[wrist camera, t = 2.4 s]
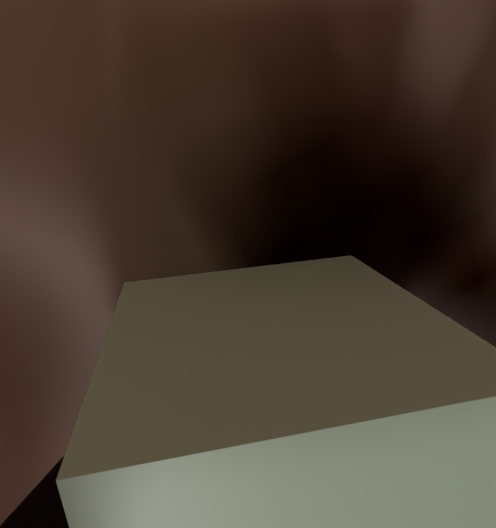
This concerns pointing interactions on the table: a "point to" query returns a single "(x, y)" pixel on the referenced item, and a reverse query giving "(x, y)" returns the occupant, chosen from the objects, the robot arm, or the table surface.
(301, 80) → the table surface
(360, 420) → the sage cube
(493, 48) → the table surface
